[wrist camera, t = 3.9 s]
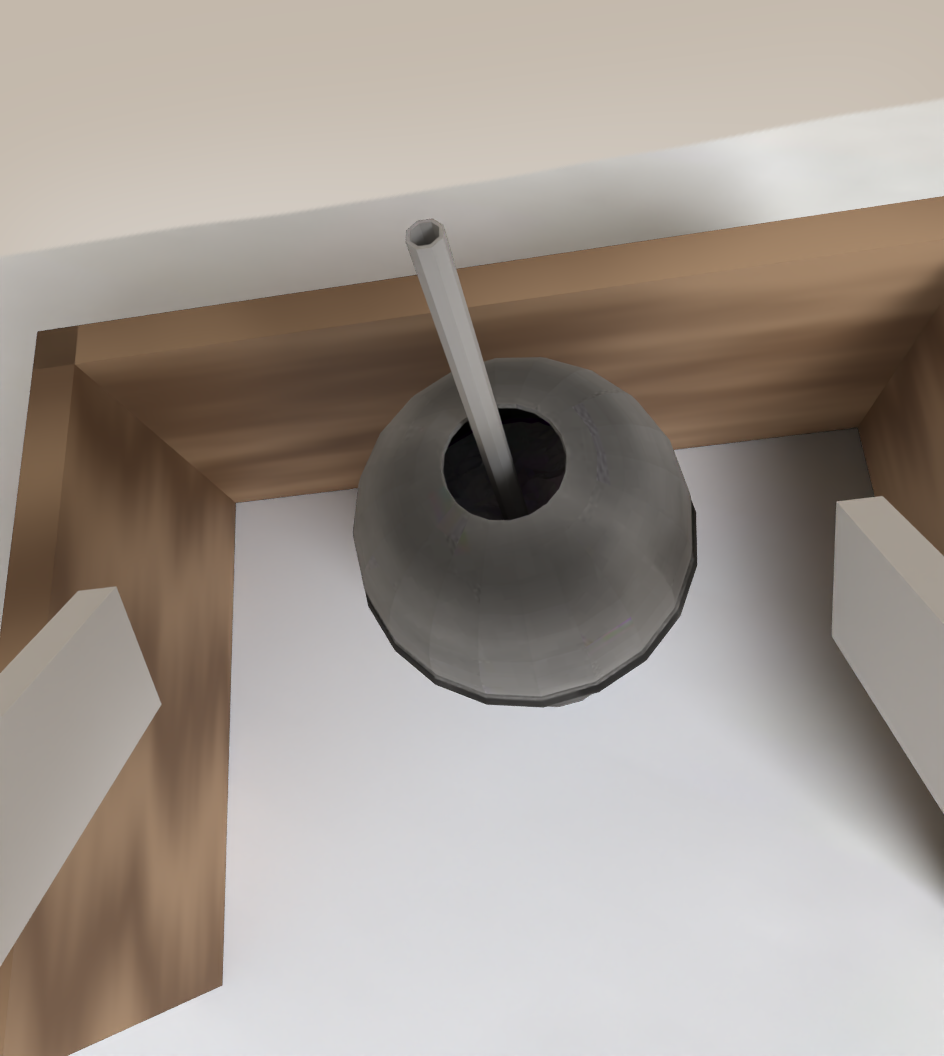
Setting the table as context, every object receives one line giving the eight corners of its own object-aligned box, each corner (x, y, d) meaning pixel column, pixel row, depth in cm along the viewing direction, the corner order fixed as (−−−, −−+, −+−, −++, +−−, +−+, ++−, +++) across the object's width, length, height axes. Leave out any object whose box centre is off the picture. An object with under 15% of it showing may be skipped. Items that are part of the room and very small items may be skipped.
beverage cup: (497, 786, 27) (274, 725, 8) (415, 591, 30) (105, 212, 11) (699, 694, 27) (922, 428, 8) (600, 506, 30) (605, -15, 11)
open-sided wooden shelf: (1031, 942, 24) (1338, 1032, 14) (186, 987, 27) (-56, 1088, 17) (884, 392, 30) (1027, 183, 20) (207, 477, 32) (37, 331, 23)
